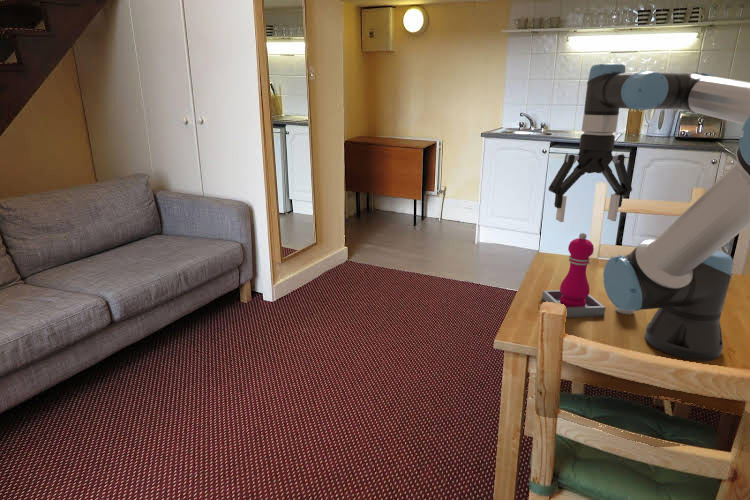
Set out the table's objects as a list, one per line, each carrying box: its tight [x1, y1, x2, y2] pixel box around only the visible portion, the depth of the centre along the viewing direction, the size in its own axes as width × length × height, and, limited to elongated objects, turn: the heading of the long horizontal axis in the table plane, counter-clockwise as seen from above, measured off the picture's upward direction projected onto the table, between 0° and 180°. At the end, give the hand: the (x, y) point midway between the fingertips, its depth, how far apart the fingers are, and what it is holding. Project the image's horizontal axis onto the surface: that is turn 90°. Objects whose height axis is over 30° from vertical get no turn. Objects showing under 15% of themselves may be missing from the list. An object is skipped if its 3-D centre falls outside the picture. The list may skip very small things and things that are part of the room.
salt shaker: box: [615, 306, 635, 315], centre depth 129 cm, size 4×4×10 cm
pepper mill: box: [559, 232, 594, 307], centre depth 129 cm, size 7×7×20 cm
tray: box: [541, 289, 606, 318], centre depth 132 cm, size 12×12×2 cm
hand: (585, 220), depth 124 cm, fingers open, 13 cm apart
